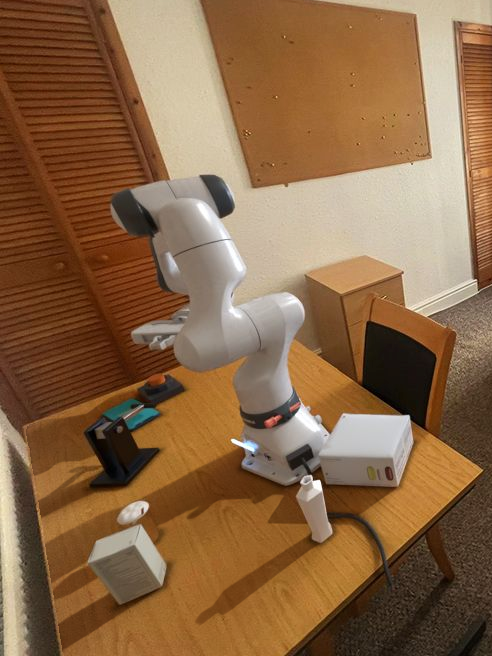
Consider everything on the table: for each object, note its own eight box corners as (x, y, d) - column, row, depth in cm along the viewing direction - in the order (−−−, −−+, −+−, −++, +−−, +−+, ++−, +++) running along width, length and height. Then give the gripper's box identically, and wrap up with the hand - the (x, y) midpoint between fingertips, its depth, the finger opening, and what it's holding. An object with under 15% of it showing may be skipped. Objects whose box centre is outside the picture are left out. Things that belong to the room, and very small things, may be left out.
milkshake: (149, 554, 77) (129, 519, 74) (127, 549, 78) (106, 514, 75) (172, 531, 82) (154, 497, 78) (151, 526, 83) (132, 492, 79)
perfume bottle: (327, 517, 84) (312, 465, 78) (338, 530, 81) (323, 477, 75) (305, 534, 81) (288, 481, 75) (316, 548, 78) (299, 494, 72)
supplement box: (324, 486, 91) (316, 455, 87) (349, 440, 103) (342, 412, 99) (398, 488, 90) (392, 457, 86) (414, 442, 102) (409, 413, 98)
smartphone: (132, 397, 118) (160, 412, 112) (133, 399, 118) (161, 414, 112) (100, 413, 112) (129, 430, 106) (102, 416, 112) (130, 432, 106)
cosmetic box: (167, 565, 76) (143, 521, 71) (162, 588, 72) (136, 544, 67) (124, 582, 73) (96, 539, 68) (116, 607, 69) (86, 563, 65)
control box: (185, 390, 122) (180, 380, 120) (152, 406, 116) (147, 395, 114) (171, 379, 127) (166, 369, 125) (139, 394, 121) (134, 383, 119)
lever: (135, 409, 102) (133, 400, 101) (157, 408, 102) (155, 399, 101) (89, 439, 90) (86, 429, 89) (114, 438, 90) (112, 428, 90)
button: (167, 381, 120) (165, 375, 119) (153, 388, 117) (150, 382, 117) (162, 377, 122) (160, 371, 121) (148, 384, 119) (145, 378, 118)
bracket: (127, 452, 100) (104, 409, 95) (160, 450, 101) (139, 407, 95) (90, 488, 91) (63, 442, 86) (127, 486, 92) (101, 440, 86)
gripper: (150, 312, 116) (108, 339, 103) (223, 310, 117) (191, 336, 104) (158, 331, 118) (118, 359, 106) (229, 329, 119) (198, 356, 107)
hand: (155, 347), depth 105 cm, fingers closed
